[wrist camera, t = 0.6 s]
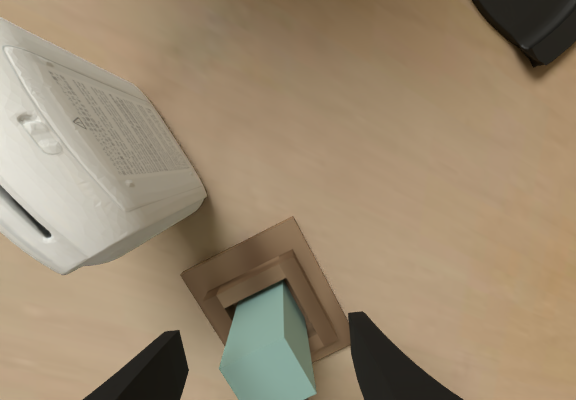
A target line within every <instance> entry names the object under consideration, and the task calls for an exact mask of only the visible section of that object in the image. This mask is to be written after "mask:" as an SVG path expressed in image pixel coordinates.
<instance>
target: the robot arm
mask: <svg viewBox="0 0 576 400" xmlns="http://www.w3.org/2000/svg"><path fill="white" fill-rule="evenodd" d="M348 318H349V331H350V344H351V355H352V359H353V363H354V368H355V372H356V376H357V380H358V383H359V386H360V389H361V391H362V394H363V397H364V400H463V399H462V398H460V397H459V396H457V395H456V394H454V393H453V392H451V391H450V390H448V389H447V388H446V387H444V386H443V385H441V384H440V383H439V382H438V381H436V380H435V379H434V378H432V377H431V376H430V375H428V374H427V373H426V372H425V371H424V370H422V369H421V368H420V367H419V366H418V365H416V364H415V363H414V362H413V361H412V360H411V359H410V358H408V357H407V356H406V355H405V354H404V353H403V352H402V351H401V350H400V349H399V348H398V347H397V346H396V345H395V344H393V343H392V342H391V341H390V340H389V339H388V338H387V337H386V336H385V335H384V334H383V333H382V331H381V330H380V329H379V328H378V327H377V326H376V325H375V324H374V323H373V322H372V321H371V319H370V318H369V317H368V316H367V315H366V314H365V313H364V312H363V311H362V312H353V313H348ZM188 371H189V369H188V365H187V361H186V356H185V352H184V348H183V344H182V340H181V336H180V331H179V330H175V331H166V332H164V333H163V334H161V335H160V336H159V337H158V338H156V339H155V340H154V341H153V342H152V343H151V344H149V345H148V346H147V347H146V348H145V349H144V350H142V351H141V352H140V353H139V354H138V355H137V356H136V357H134V358H133V359H132V360H131V361H130V362H129V363H127V364H126V365H125V366H124V367H123V368H122V369H120V370H119V371H118V372H117V373H115V374H114V375H113V376H112V377H111V378H109V379H108V380H107V381H106V382H104V383H103V384H102V385H101V386H99V387H98V388H97V389H96V390H94V391H93V392H92V393H91V394H89V395H88V396H87V397H85V398H84V399H83V400H180V398H181V395H182V392H183V389H184V385H185V382H186V378H187V375H188Z"/></svg>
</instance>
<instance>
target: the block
mask: <svg viewBox="0 0 576 400" xmlns="http://www.w3.org/2000/svg"><path fill="white" fill-rule="evenodd" d="M219 370H220V371H221V373H222V374H223V376H224V377H225V379H226V381H227V382H228V384H229V385H230V387H231V388H232V390H233V391H234V393H235V395H236V396H237V398H238V399H239V400H304V399H306V398H308V397H310V396H313V395H315V394H317V393H316V386H315V380H314V373H313V367H312V361H311V354H310V348H309V341H308V335H307V329H306V322H305V318H304V316H303V314H302V312H301V310H300V309H299V307H298V305H297V303H296V301H295V300H294V298H293V296H292V294H291V292H290V291H289V289H288V287H287V285H286V283H285V282H284V280H281V281H279V282H276V283H274V284H272V285H270V286H268V287H266V288H264V289H262V290H260V291H258V292H256V293H254V294H252V295H250V296H248V297H246V298H244V299H242V300H240V301H238V304H237V307H236V311H235V314H234V318H233V321H232V325H231V328H230V332H229V335H228V339H227V342H226V346H225V349H224V353H223V356H222V360H221V363H220V367H219Z"/></svg>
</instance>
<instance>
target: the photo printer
mask: <svg viewBox="0 0 576 400" xmlns="http://www.w3.org/2000/svg"><path fill="white" fill-rule="evenodd" d="M206 197H207V194H206V191H205V188H204V186H203V184H202V182H201V180H200V178H199V176H198V175H197V173H196V171H195V170H194V168H193V166H192V164H191V163H190V162H189V160H188V158H187V157H186V155H185V153H184V152H183V150H182V149H181V147H180V146H179V144H178V143H177V141H176V139H175V138H174V136H173V135H172V133H171V132H170V130H169V129H168V127H167V126H166V124H165V122H164V121H163V120H162V118H161V116H160V115H159V113H158V112H157V111H156V109H155V108H154V106H153V105H152V104H151V102H150V101H149V99H148V98H147V97H146V96H145V95H144V94H143V92H142V91H141V90H140V89H139V88H138V87H137V86H135V85H134V84H132V83H131V82H129V81H127V80H125V79H122V78H120V77H119V76H116V75H114V74H112V73H110V72H108V71H106V70H104V69H102V68H100V67H98V66H96V65H94V64H92V63H90V62H88V61H86V60H84V59H82V58H80V57H78V56H76V55H74V54H72V53H70V52H68V51H66V50H65V49H63V48H61V47H59V46H57V45H55V44H53V43H51V42H49V41H47V40H45V39H43V38H41V37H39V36H37V35H35V34H33V33H31V32H29V31H27V30H25V29H23V28H21V27H19V26H17V25H15V24H13V23H11V22H9V21H7V20H5V19H3V18H1V17H0V232H1V233H2V234H3V235H4V236H6V237H7V238H8V239H9V240H10V241H11V242H13V243H14V244H15V245H16V246H18V247H19V248H20V249H21V250H23V251H24V252H25V253H27V254H28V255H30V256H31V257H33V258H34V259H35V260H37V261H38V262H40V263H42V264H43V265H45V266H47V267H48V268H50V269H52V270H53V271H55V272H57V273H59V274H61V275H66V274H69V273H71V272H73V271H75V270H77V269H78V268H80V267H82V266H92V265H99V264H103V263H107V262H110V261H112V260H115V259H117V258H119V257H121V256H123V255H125V254H126V253H128V252H130V251H131V250H133V249H135V248H136V247H138V246H140V245H141V244H143V243H145V242H146V241H148V240H150V239H151V238H153V237H155V236H156V235H158V234H159V233H161V232H163V231H164V230H166V229H168V228H169V227H171V226H173V225H174V224H176V223H178V222H179V221H181V220H182V219H184V218H186V217H187V216H189V215H191V214H192V213H194V212H195V211H196V210H198V208H199V207H200V206H201V204H202V202H203V200H204V198H206Z"/></svg>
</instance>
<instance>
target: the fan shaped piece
mask: <svg viewBox="0 0 576 400" xmlns="http://www.w3.org/2000/svg"><path fill="white" fill-rule="evenodd" d="M473 2H474V4H475V5H476V7H477V8H478V10H479V11H480V12H481V14H482V15H483V16H484V17H485V18H486V20H487V21H488V22H489V23H490V24H491V25H492V26H493V27H494V28H495V29H496V30H497V31H498V32H499V33H501V34H502V35H503V36H504V37H505V38H506V39H507V40H509V41H510V42H512V43H513V44H514V45H516V46H518V47H519V48H520V49H521V50H522V51H523V52H524V53H525V55H526V56H527V57H528V58H529V60H530V61H531V63H532V66H533V67H535V66H538V65H548V64H549V63H550V62H552V61H553V60H554V59H556V58H557V57H558V56H559V55H561V54H562V53H563V52H564V51H565V50H566V49H568V48H569V47H570V46H571V45H572V44H573V43H574V42H575V41H576V0H473Z"/></svg>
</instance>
